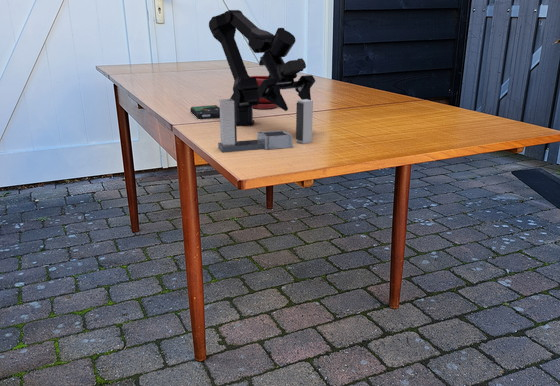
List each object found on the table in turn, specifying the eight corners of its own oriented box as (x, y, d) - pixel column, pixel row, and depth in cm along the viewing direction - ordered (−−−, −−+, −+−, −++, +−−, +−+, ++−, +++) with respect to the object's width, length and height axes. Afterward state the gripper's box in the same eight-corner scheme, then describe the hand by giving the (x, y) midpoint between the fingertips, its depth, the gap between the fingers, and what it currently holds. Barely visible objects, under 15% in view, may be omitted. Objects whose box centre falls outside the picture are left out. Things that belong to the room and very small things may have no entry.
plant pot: (276, 110, 208) (276, 79, 204) (243, 109, 211) (243, 78, 207) (283, 105, 220) (283, 75, 216) (252, 103, 223) (251, 74, 219)
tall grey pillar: (295, 142, 161) (296, 100, 157) (305, 140, 164) (306, 99, 160) (301, 144, 159) (302, 102, 155) (311, 142, 161) (313, 100, 157)
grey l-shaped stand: (217, 146, 155) (215, 98, 151) (284, 141, 162) (284, 94, 157) (223, 153, 149) (222, 102, 144) (292, 147, 155) (293, 99, 151)
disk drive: (226, 119, 195) (216, 111, 208) (226, 112, 194) (216, 104, 207) (198, 121, 192) (189, 113, 205) (198, 113, 191) (189, 105, 204)
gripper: (262, 50, 153) (286, 94, 148) (312, 48, 164) (335, 88, 159) (247, 76, 162) (269, 118, 157) (295, 72, 172) (317, 111, 168)
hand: (299, 108), depth 160 cm, fingers open, 9 cm apart
